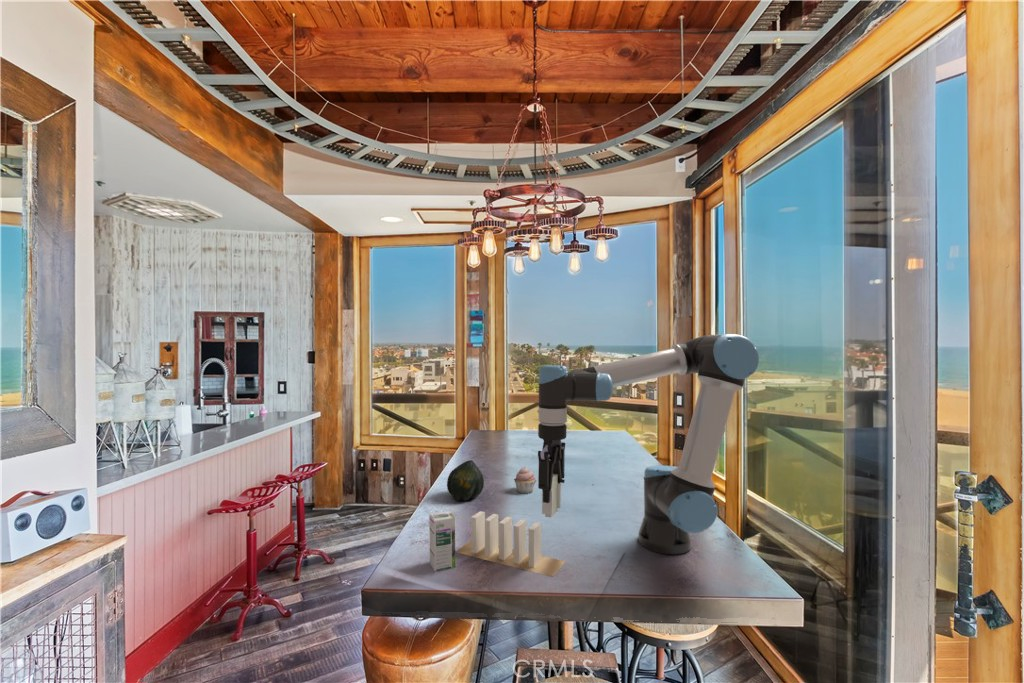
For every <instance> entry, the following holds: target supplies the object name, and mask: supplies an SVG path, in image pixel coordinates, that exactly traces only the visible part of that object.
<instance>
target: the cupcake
mask: <svg viewBox="0 0 1024 683" xmlns="http://www.w3.org/2000/svg"><path fill="white" fill-rule="evenodd" d="M513 480H514V483H515V486H516V490H517V492H518V493H520V494H531V493H533V491H534V487H535V485H536V482H538V480H537V478H536V476H535V474H534V472H532V471H531V470H530V469H528V467H527V466H523V467H522V468H521V469H519V471H518V472H517V473H516V475H515V478H513Z"/></svg>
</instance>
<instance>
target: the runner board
mask: <svg viewBox="0 0 1024 683" xmlns="http://www.w3.org/2000/svg"><path fill="white" fill-rule="evenodd" d="M456 553H457V554H460V555H461V554H462V555H465V556H469V557H472V558H477V559H481V560H484V561H485V560H486V561H488V562H493V563H497V564H501V565H503V566H508V567H512V568H517V569H521V570H525V571H528V572H532V573H536V574H541V575H543V576H548V577H552V578H553V577H554V576H556V574H557V573H558V572H559V570H560V569H561V568H562V566H563V565H564V564H565V563H566V561H565V560H562V559H561V560H560V559H557V558H553V557H548V556H544V555H542V560H541V561H540V562H539V563H538V564H537V565H536V566H535V567H534V568H533V567H529V552H527V556H526V557H525V558H524V559H523V560H522V561H521V562H520V563H519V564H517V563H514V548H512V553H511V554H510V555H509V556H508V557H507V558H506V559H505V560H501V559H499V545H498V550H497V551H496V552H495V553H494V554H493V555H491V556H490V557H489V556H485V547H483V548H482V549H481V550H480V551H478V552H477V553H473V552H471V540H469V541H468V542H466V543H465V544H463V545H462V547H460V548H458V549H457V550H455V554H456Z"/></svg>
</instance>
